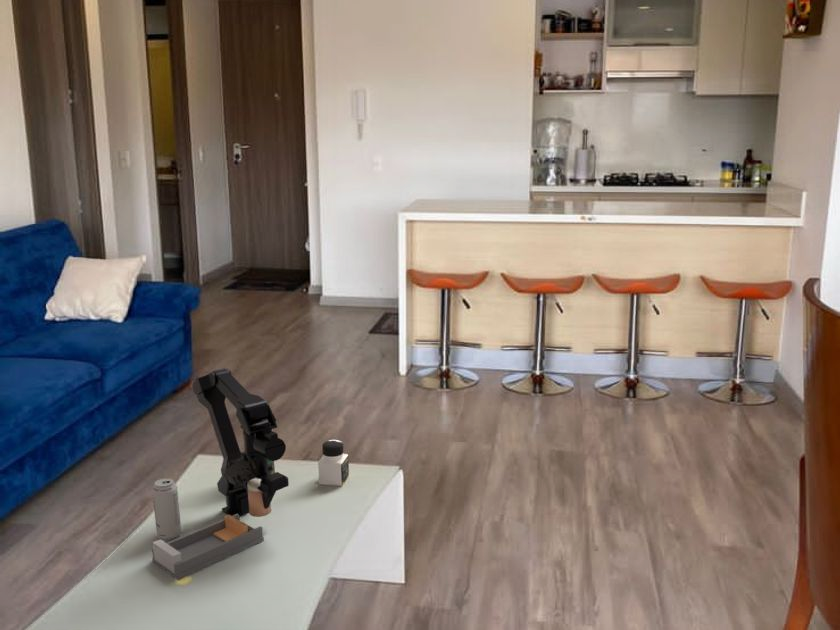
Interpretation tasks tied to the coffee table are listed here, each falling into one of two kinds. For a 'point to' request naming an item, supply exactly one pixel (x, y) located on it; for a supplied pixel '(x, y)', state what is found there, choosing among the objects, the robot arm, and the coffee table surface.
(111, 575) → the coffee table surface
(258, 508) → the jar
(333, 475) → the medicine bottle
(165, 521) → the energy drink can
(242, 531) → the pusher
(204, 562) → the lane
